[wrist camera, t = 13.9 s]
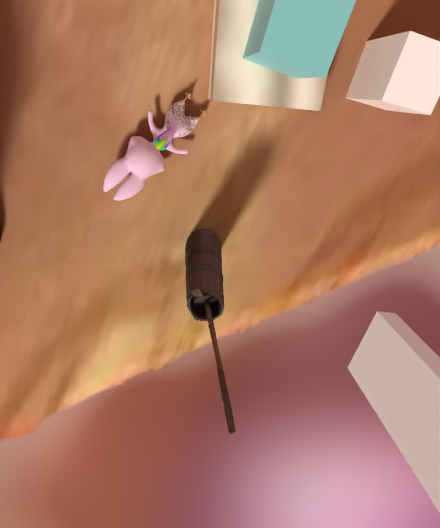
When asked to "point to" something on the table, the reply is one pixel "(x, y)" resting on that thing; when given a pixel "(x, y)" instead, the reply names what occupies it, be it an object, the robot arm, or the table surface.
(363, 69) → the off-white block
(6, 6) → the table surface
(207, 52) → the table surface
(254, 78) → the birch base
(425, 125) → the table surface
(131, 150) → the pink animal figurine
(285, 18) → the teal block
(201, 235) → the butter churn
